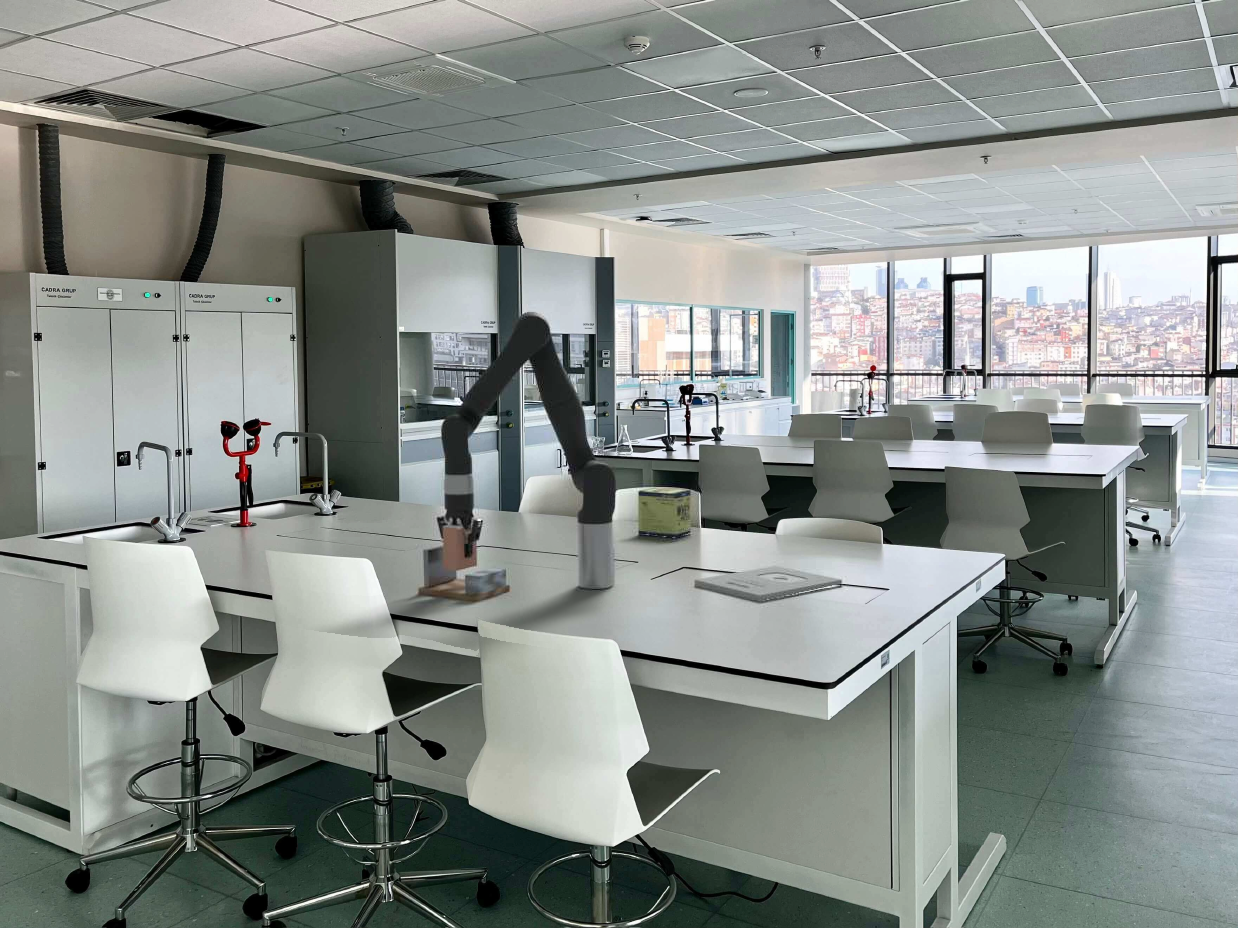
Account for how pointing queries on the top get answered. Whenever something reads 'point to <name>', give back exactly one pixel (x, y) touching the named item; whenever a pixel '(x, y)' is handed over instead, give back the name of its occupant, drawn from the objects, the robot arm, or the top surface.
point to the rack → (471, 586)
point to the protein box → (664, 512)
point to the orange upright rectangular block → (456, 549)
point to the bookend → (436, 567)
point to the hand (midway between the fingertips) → (460, 556)
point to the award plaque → (766, 583)
